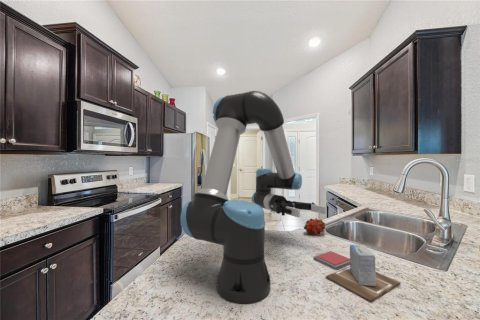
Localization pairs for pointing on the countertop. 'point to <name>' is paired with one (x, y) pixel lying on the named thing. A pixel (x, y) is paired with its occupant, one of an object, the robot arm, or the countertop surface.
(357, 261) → the medicine box
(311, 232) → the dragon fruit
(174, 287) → the countertop surface
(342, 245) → the countertop surface
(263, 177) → the robot arm
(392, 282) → the cutting board
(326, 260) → the ink pad
